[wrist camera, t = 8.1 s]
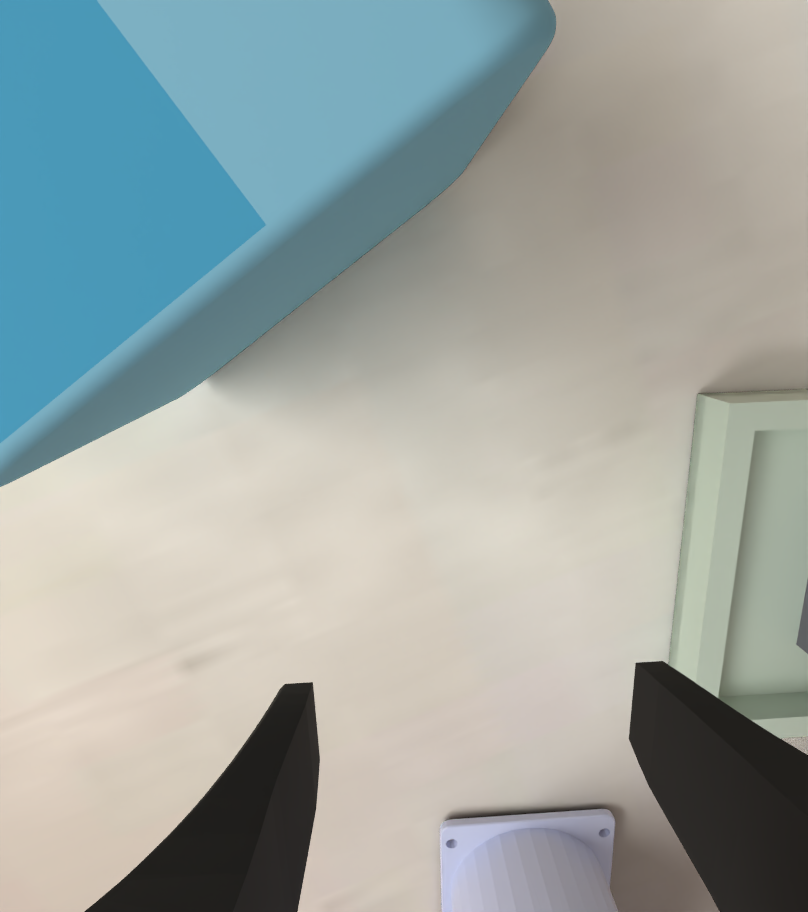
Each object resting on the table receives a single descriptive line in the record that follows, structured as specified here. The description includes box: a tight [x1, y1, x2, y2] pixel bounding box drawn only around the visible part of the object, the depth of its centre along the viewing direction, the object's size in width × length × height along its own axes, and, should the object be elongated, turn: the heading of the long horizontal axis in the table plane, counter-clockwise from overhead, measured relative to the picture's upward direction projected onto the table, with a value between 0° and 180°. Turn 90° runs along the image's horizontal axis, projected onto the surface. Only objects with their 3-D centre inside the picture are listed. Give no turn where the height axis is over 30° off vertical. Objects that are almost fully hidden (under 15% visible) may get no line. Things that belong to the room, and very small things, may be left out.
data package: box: [0, 0, 556, 487], centre depth 13 cm, size 12×4×12 cm, turn 127°
